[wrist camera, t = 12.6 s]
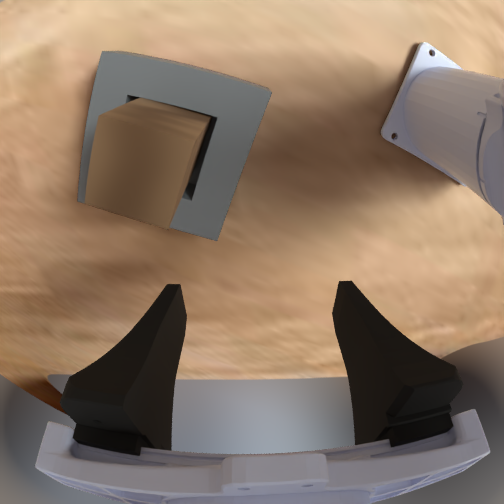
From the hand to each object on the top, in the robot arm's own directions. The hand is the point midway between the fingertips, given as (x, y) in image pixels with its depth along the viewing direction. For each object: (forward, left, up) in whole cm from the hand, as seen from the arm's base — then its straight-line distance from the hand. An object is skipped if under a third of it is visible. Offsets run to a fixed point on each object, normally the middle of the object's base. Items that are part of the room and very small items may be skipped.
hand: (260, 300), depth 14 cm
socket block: (+7, -3, -10) cm, 12 cm away
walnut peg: (+7, -4, -9) cm, 12 cm away
